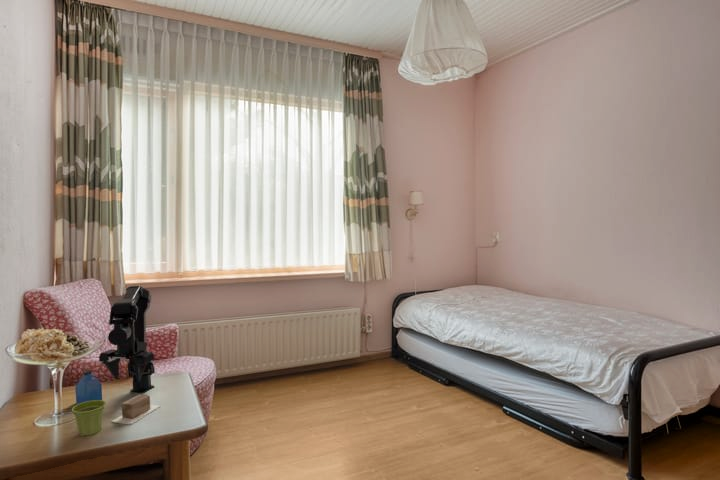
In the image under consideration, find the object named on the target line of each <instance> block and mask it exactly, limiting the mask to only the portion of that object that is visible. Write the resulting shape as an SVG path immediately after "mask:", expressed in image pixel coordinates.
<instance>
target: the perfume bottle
mask: <svg viewBox="0 0 720 480" xmlns="http://www.w3.org/2000/svg"><path fill="white" fill-rule="evenodd" d="M81 376H82V378H83V379H82V378H81V379H80V380H78V381H77V383H76V385H75V402H76V404H77V405H78V404H80V403H83V402H87V401H92V400H103V390H102V383H101V382H100V380H98V378H97V377H94V372H93V368H90V369H84V370H82V375H81Z"/></svg>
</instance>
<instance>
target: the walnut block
mask: <svg viewBox="0 0 720 480" xmlns="http://www.w3.org/2000/svg"><path fill="white" fill-rule="evenodd" d="M150 405H151V396H150V395H147V394H138V395H136V396H134V397H131V398H130V399H128V400H126V401H124V402H122V403H121V416H122V418H129V419H134V418H135V417H137V416H139V415H141V414H143V413H144V412H146V411H148V410H150Z"/></svg>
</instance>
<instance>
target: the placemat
mask: <svg viewBox="0 0 720 480" xmlns="http://www.w3.org/2000/svg"><path fill="white" fill-rule="evenodd" d="M160 407H161V405H155V404H150V410H148V411H146V412H144V413H143V414H141V415H139V416H137V417H135V418H134V419H129V418H122V415H120V416H118V417H116V418H115V419H113V420H112V421H111V423H114V424H115V423H116V424H125V425H130V426H131V425H133V424H135V423H136V422H138V421H139V420H141V419H143V418H144V417H146V416H148V415H149V414H151V413H154V411H157V408H158V409H160Z"/></svg>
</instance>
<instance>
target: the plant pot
mask: <svg viewBox="0 0 720 480" xmlns="http://www.w3.org/2000/svg"><path fill="white" fill-rule="evenodd" d="M106 403H107V402H106V401H105V400H103V399H102V400H92V401H87V402H83V403H80V404H78V403H77V404H76V405H74V406H73V407H72V408H71V412H72V413H73V415H74V417H75V422H76V426H77V431H78V435H80V436H92V435H96V434H97V433H99V432H100V430H102V423H103V413H104V410H105V405H106Z"/></svg>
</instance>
